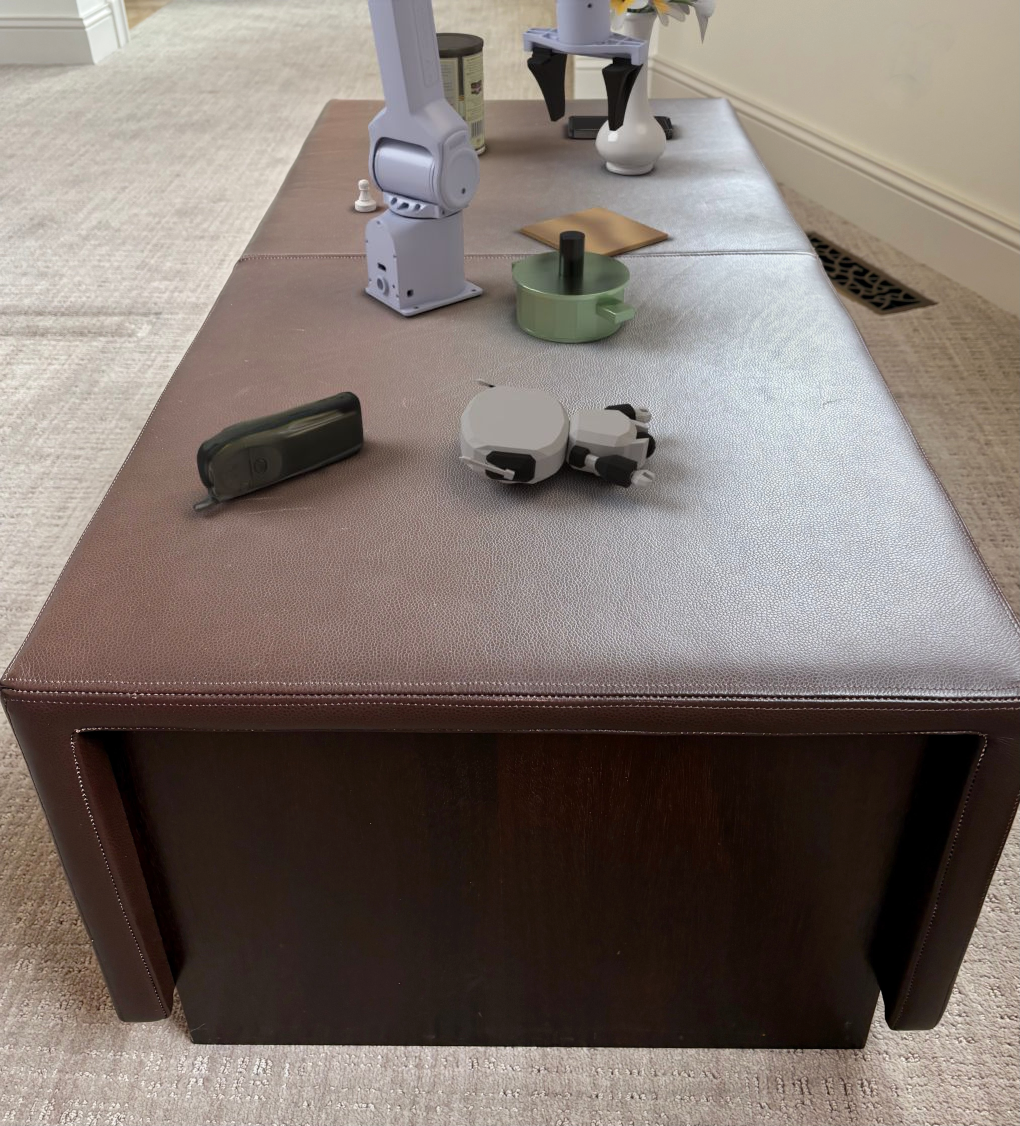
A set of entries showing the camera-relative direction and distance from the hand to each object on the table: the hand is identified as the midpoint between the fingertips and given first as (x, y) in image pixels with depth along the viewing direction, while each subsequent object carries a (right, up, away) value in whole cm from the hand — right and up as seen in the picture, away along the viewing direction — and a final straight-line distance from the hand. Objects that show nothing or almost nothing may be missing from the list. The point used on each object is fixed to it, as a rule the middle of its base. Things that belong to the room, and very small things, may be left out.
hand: (586, 123), depth 121 cm
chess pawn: (-26, -7, +10) cm, 29 cm away
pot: (-3, -26, -16) cm, 31 cm away
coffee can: (-17, +8, +29) cm, 35 cm away
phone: (+7, +14, +36) cm, 39 cm away
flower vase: (+8, +3, +22) cm, 24 cm away
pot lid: (-3, -23, -19) cm, 30 cm away
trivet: (+1, -12, +2) cm, 12 cm away
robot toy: (-5, -42, -38) cm, 57 cm away
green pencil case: (-26, -43, -39) cm, 64 cm away
